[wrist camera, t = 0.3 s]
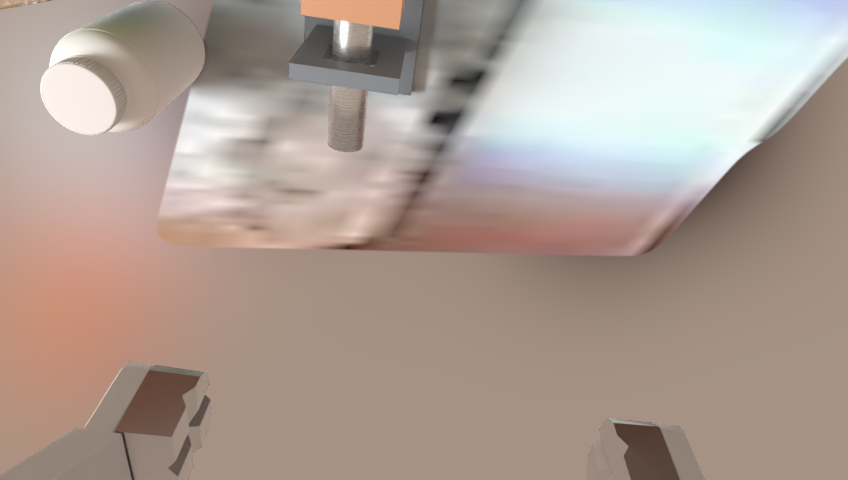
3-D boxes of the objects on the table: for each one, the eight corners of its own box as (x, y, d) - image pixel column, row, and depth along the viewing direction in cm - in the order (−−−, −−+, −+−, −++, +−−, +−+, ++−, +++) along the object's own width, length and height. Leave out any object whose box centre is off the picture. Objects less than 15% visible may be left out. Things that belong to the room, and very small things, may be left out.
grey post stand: (311, -139, 45) (274, -136, 35) (439, -117, 45) (438, -109, 35) (305, 76, 54) (275, 126, 44) (411, 91, 55) (404, 145, 45)
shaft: (343, -104, 40) (337, -101, 38) (386, -97, 41) (382, -93, 38) (330, 134, 50) (324, 148, 48) (364, 139, 51) (360, 154, 48)
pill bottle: (192, -7, 50) (110, 39, 38) (218, 83, 55) (152, 151, 42) (104, 1, 51) (-5, 49, 38) (137, 89, 55) (49, 158, 43)
